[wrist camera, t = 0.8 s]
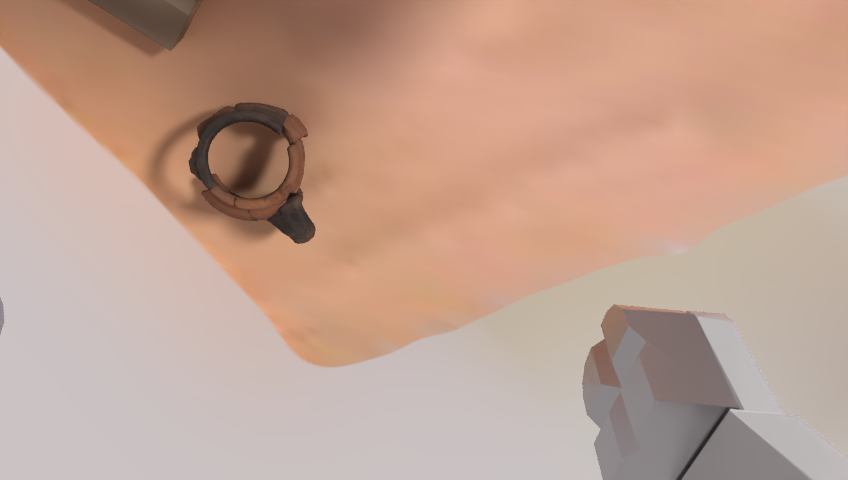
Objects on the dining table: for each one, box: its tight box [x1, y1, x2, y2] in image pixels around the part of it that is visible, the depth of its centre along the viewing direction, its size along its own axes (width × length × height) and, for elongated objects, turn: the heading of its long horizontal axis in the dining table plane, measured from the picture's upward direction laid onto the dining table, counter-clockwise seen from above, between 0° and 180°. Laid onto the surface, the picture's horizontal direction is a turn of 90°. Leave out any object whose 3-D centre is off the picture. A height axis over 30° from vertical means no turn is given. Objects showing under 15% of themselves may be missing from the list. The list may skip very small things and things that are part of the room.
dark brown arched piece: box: [189, 103, 315, 244], centre depth 49 cm, size 12×9×8 cm
